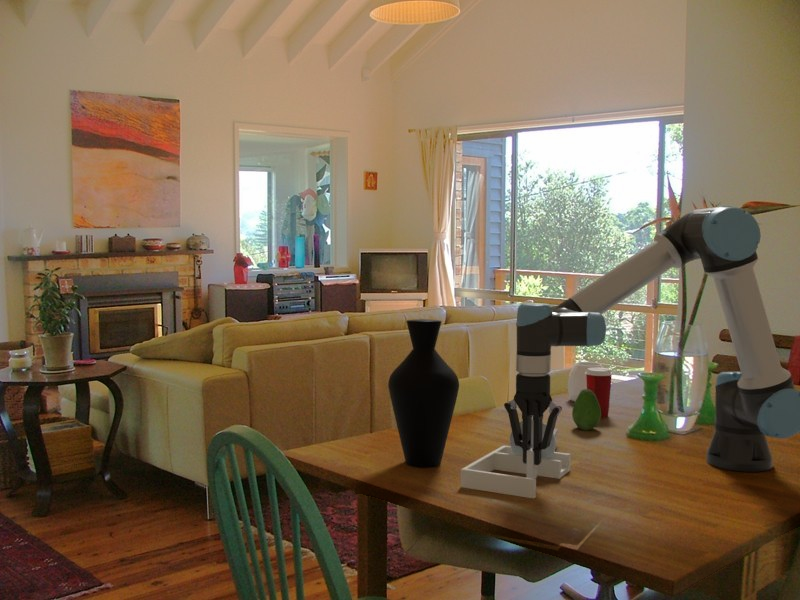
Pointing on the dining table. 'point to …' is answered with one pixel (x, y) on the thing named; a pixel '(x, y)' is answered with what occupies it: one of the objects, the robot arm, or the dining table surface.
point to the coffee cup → (600, 386)
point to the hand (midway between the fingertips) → (531, 478)
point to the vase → (423, 397)
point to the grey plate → (518, 450)
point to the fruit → (586, 410)
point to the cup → (579, 378)
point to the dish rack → (506, 460)
